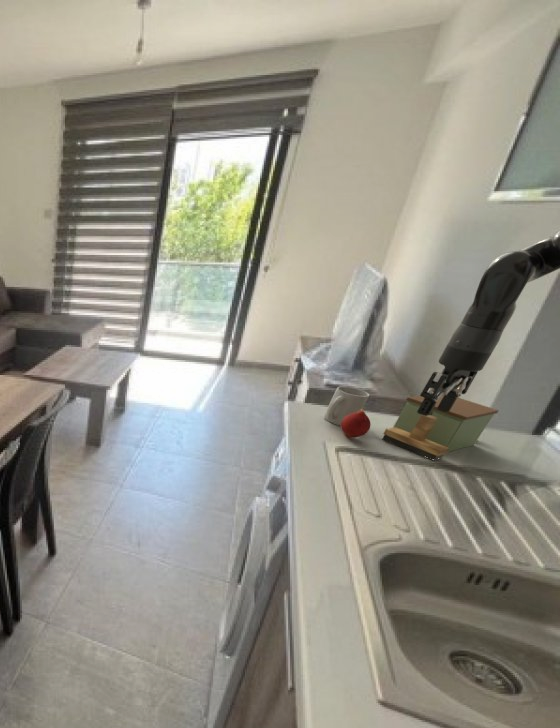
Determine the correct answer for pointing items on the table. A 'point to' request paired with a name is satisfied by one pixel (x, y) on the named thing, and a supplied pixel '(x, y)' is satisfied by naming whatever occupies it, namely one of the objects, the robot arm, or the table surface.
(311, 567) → the table surface
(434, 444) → the brush
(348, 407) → the cup
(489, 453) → the table surface
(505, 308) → the robot arm
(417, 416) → the cabinet
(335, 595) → the table surface
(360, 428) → the onion
